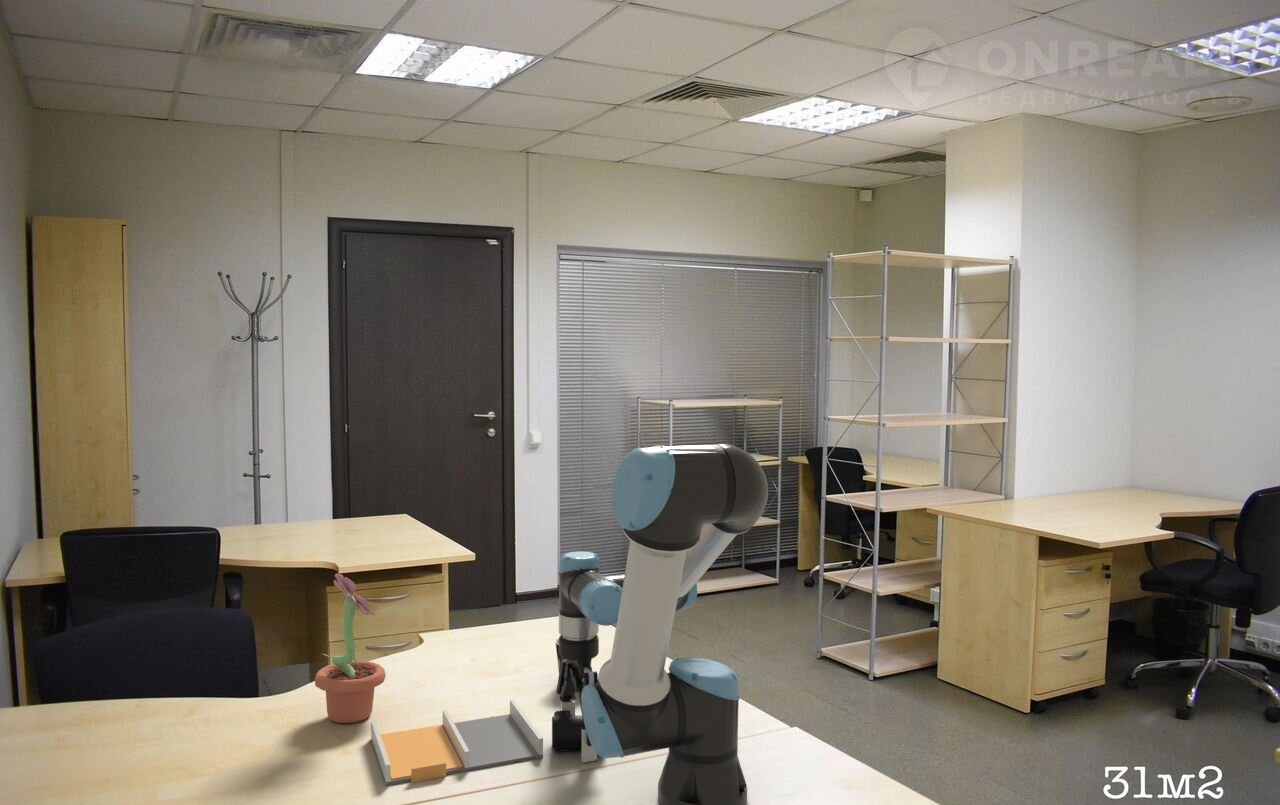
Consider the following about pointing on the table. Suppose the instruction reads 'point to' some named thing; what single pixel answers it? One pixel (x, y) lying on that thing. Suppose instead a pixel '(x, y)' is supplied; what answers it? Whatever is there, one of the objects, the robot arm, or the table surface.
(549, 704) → the table surface
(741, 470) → the robot arm
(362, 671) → the decorative flower
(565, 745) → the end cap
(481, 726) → the slot rack
